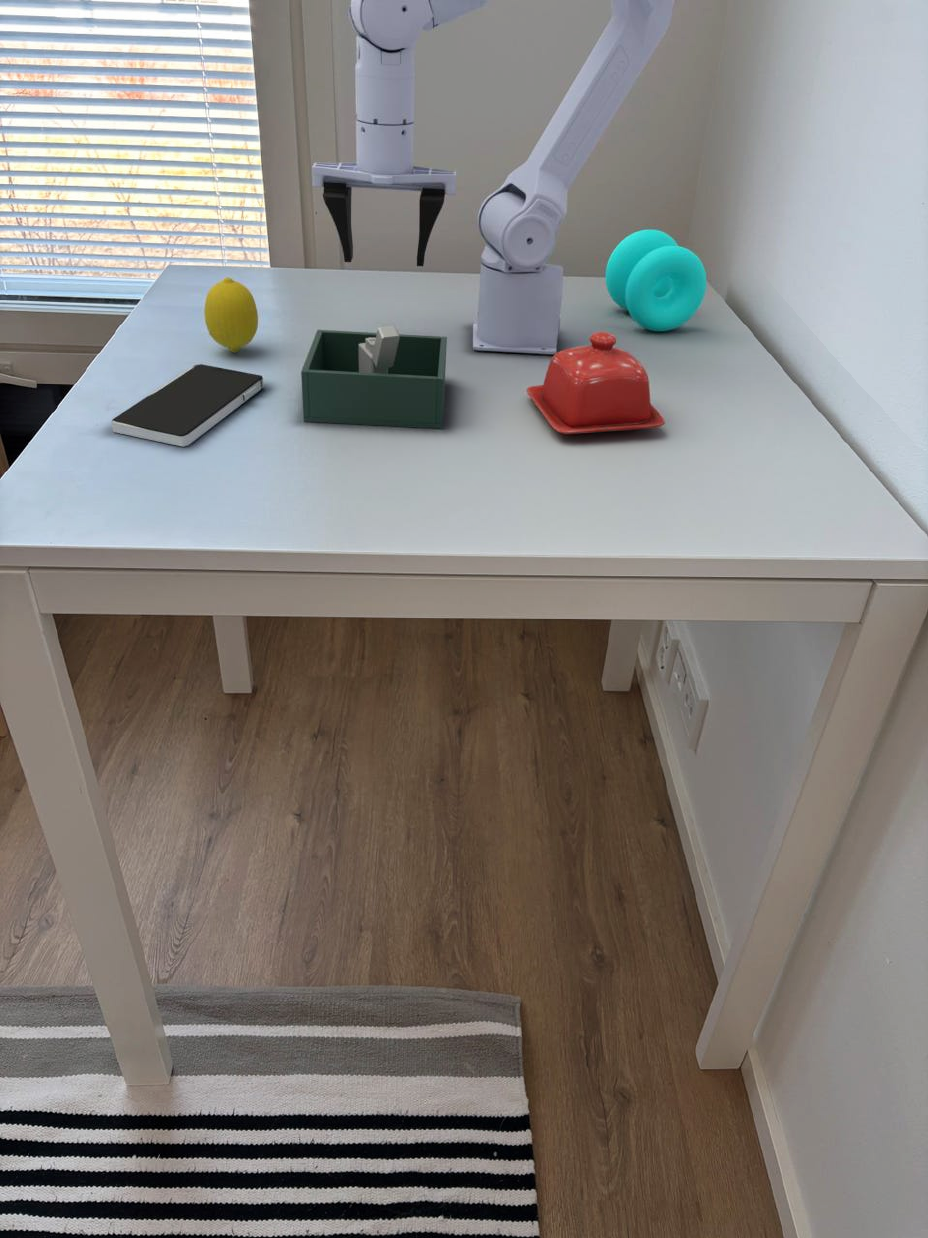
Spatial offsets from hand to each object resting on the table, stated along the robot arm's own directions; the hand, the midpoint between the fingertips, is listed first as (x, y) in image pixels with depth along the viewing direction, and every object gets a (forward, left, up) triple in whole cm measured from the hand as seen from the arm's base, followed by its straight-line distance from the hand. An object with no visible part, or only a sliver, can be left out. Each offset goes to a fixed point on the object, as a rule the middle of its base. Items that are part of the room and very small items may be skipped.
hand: (384, 261), depth 102 cm
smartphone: (+17, +19, -10) cm, 27 cm away
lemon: (+16, +4, -10) cm, 19 cm away
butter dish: (-22, +16, -10) cm, 29 cm away
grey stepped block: (-1, +15, -9) cm, 18 cm away
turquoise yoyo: (-32, -14, -10) cm, 36 cm away
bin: (0, +15, -9) cm, 18 cm away
